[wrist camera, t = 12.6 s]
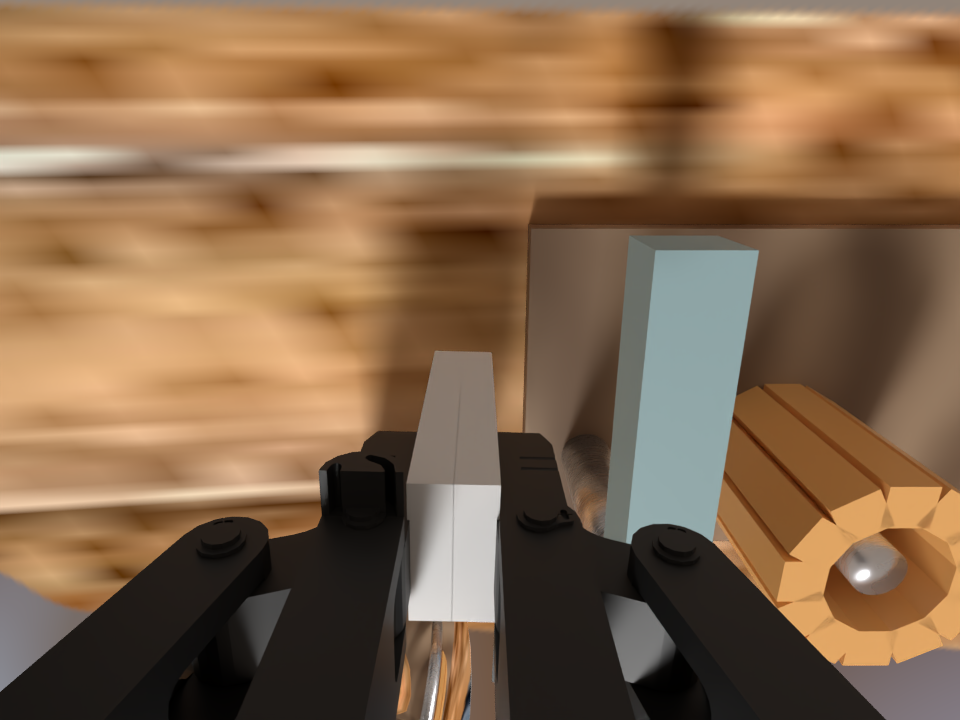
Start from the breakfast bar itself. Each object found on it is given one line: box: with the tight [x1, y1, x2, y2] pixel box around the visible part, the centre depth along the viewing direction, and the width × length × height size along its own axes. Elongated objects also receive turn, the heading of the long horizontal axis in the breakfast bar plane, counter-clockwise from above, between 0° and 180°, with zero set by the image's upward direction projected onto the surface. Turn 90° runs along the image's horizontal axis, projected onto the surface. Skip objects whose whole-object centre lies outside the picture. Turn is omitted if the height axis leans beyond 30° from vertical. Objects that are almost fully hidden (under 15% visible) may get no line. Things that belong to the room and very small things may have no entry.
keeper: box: [604, 236, 759, 544], centre depth 17 cm, size 14×3×2 cm, turn 0°
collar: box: [716, 384, 960, 665], centre depth 25 cm, size 8×8×9 cm
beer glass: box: [396, 612, 471, 720], centre depth 25 cm, size 7×7×15 cm
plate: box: [523, 225, 960, 541], centre depth 29 cm, size 30×16×2 cm, turn 90°
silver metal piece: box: [561, 434, 908, 595], centre depth 25 cm, size 11×2×9 cm, turn 90°
